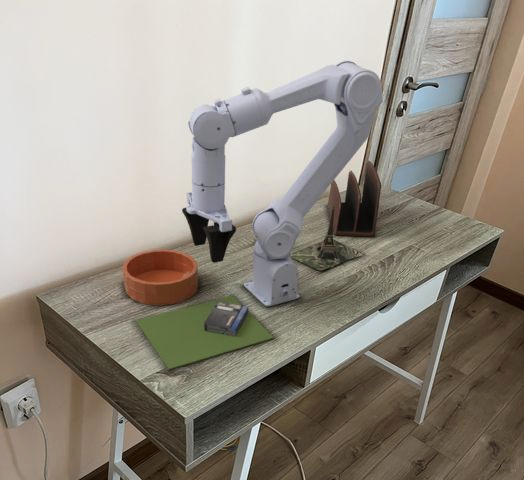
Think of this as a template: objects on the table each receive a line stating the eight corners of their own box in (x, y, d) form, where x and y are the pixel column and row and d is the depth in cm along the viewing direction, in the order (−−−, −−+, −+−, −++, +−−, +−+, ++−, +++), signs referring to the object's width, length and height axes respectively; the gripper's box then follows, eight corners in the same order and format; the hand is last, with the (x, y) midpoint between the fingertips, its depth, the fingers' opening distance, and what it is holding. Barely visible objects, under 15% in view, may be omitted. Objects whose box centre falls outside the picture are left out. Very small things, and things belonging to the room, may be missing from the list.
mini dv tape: (218, 300, 101) (248, 306, 100) (218, 307, 102) (248, 313, 101) (203, 323, 94) (235, 329, 93) (203, 330, 95) (235, 336, 94)
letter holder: (362, 207, 148) (371, 156, 139) (374, 237, 132) (384, 181, 123) (327, 205, 147) (333, 154, 139) (334, 235, 132) (342, 179, 123)
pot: (209, 294, 106) (209, 274, 103) (139, 312, 100) (137, 290, 97) (181, 263, 116) (180, 244, 113) (115, 277, 110) (113, 257, 107)
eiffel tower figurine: (330, 239, 130) (338, 186, 122) (363, 254, 124) (373, 199, 116) (287, 257, 121) (292, 200, 113) (320, 273, 115) (327, 215, 107)
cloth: (273, 338, 95) (273, 337, 95) (169, 370, 86) (169, 368, 86) (232, 297, 106) (232, 295, 106) (135, 321, 97) (135, 320, 97)
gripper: (170, 171, 95) (173, 240, 103) (205, 198, 85) (205, 273, 94) (206, 166, 98) (206, 235, 106) (244, 193, 89) (240, 265, 97)
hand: (208, 252), depth 100 cm, fingers open, 7 cm apart
